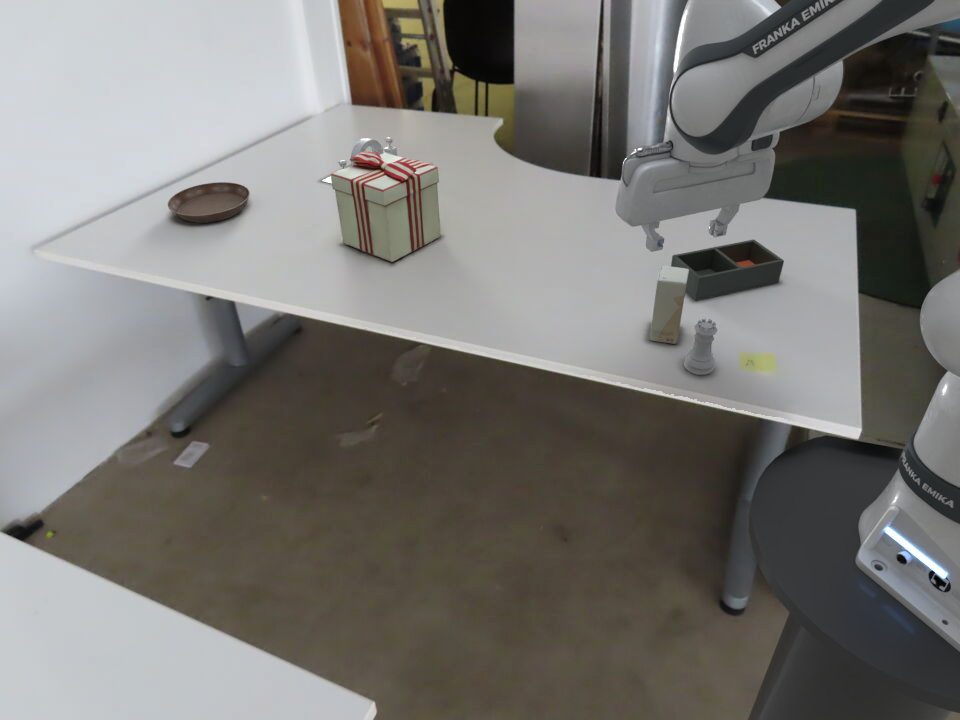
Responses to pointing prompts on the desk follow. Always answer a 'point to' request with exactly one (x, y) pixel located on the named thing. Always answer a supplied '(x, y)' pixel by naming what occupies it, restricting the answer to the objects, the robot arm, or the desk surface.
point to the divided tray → (728, 269)
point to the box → (668, 304)
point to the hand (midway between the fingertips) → (685, 241)
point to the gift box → (387, 204)
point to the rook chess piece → (701, 349)
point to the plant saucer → (209, 202)
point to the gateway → (362, 146)
